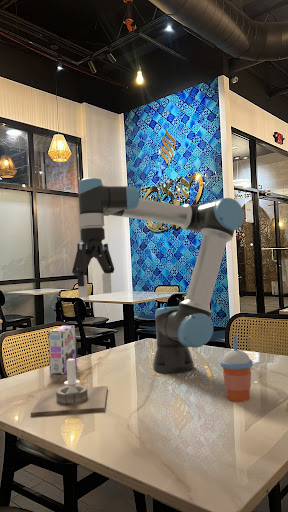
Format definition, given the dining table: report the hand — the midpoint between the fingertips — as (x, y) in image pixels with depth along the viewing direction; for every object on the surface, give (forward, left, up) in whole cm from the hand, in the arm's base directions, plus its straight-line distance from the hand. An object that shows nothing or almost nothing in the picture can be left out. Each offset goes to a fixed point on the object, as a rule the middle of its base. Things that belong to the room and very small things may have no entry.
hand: (95, 295), depth 131 cm
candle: (+8, +7, -30) cm, 32 cm away
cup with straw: (-40, +14, -31) cm, 52 cm away
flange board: (+8, +7, -31) cm, 32 cm away
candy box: (+16, -32, -31) cm, 47 cm away
